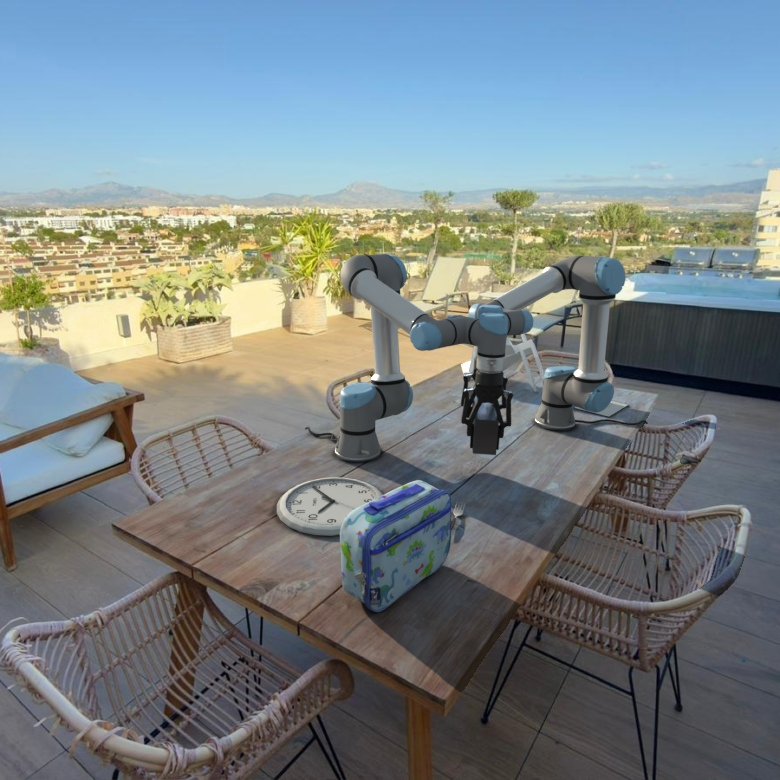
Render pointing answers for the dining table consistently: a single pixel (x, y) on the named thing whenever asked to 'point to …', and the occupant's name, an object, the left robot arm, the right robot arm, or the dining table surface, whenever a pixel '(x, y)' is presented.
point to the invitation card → (609, 408)
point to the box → (485, 429)
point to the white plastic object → (513, 358)
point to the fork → (457, 514)
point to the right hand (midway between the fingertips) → (481, 427)
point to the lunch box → (394, 543)
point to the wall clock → (323, 504)
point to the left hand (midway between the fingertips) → (484, 447)
